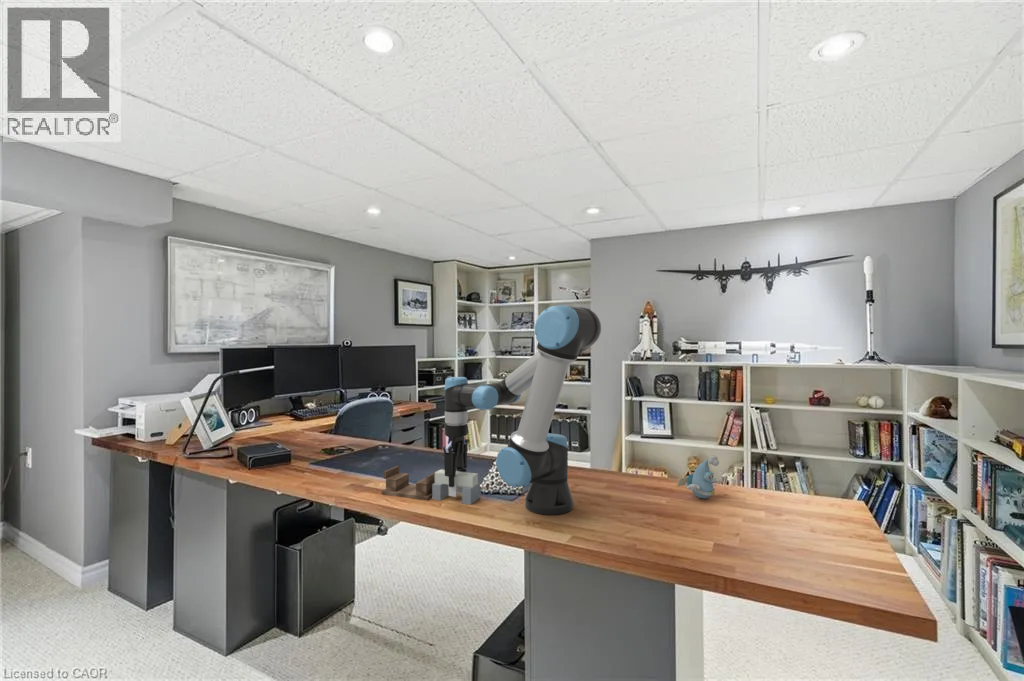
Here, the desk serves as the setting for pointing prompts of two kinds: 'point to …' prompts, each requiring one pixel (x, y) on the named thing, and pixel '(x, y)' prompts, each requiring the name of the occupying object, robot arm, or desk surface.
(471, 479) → the pale grey long block
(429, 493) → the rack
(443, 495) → the blocks
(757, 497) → the desk surface
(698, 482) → the toy figure
